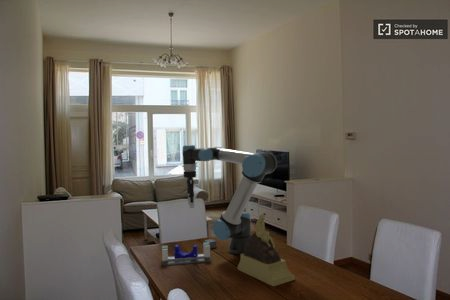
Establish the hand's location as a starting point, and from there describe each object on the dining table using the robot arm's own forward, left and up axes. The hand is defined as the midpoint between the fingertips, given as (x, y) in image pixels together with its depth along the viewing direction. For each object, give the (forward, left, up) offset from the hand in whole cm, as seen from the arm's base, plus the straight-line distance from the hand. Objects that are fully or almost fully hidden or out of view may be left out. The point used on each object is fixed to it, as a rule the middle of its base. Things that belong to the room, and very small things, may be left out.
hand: (191, 205), depth 233 cm
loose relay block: (-11, -3, -27) cm, 29 cm away
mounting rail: (+5, +19, -27) cm, 33 cm away
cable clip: (+5, +19, -25) cm, 32 cm away
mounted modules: (+5, +19, -25) cm, 32 cm away
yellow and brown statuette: (-32, +51, -27) cm, 66 cm away
